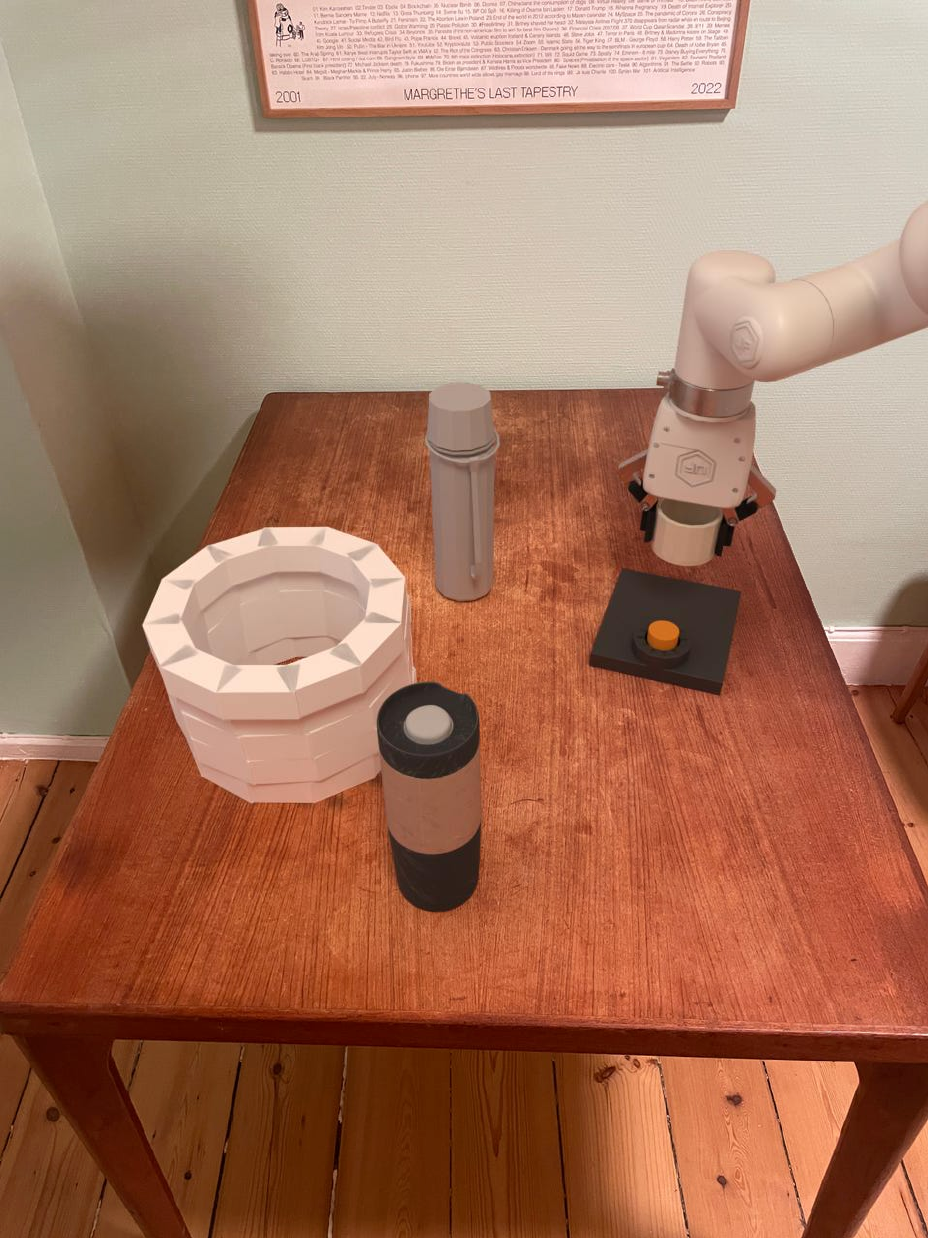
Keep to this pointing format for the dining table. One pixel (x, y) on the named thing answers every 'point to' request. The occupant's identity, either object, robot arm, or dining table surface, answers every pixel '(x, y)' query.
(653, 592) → the scale
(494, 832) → the dining table surface
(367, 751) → the container
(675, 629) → the button
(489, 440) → the water bottle
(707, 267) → the robot arm
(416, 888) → the travel mug
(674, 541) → the bowl
